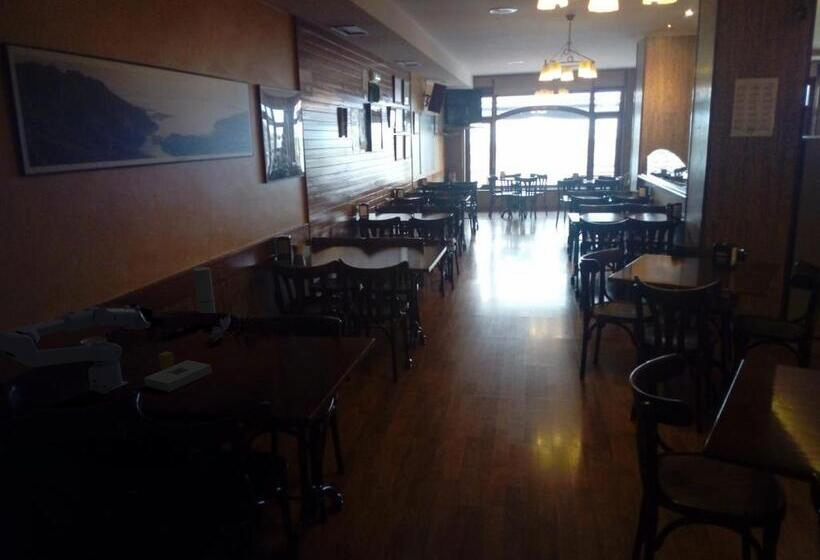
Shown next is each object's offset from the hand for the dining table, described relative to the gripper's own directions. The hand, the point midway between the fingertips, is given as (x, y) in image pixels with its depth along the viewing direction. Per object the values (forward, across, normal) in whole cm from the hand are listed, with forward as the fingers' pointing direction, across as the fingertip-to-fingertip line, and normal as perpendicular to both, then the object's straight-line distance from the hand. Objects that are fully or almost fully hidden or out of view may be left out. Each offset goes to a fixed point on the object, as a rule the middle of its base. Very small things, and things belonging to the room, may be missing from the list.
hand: (157, 317), depth 222 cm
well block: (0, -21, +14) cm, 25 cm away
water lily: (+35, +3, +11) cm, 37 cm away
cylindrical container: (+46, +26, +14) cm, 55 cm away
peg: (+4, -9, +16) cm, 19 cm away
